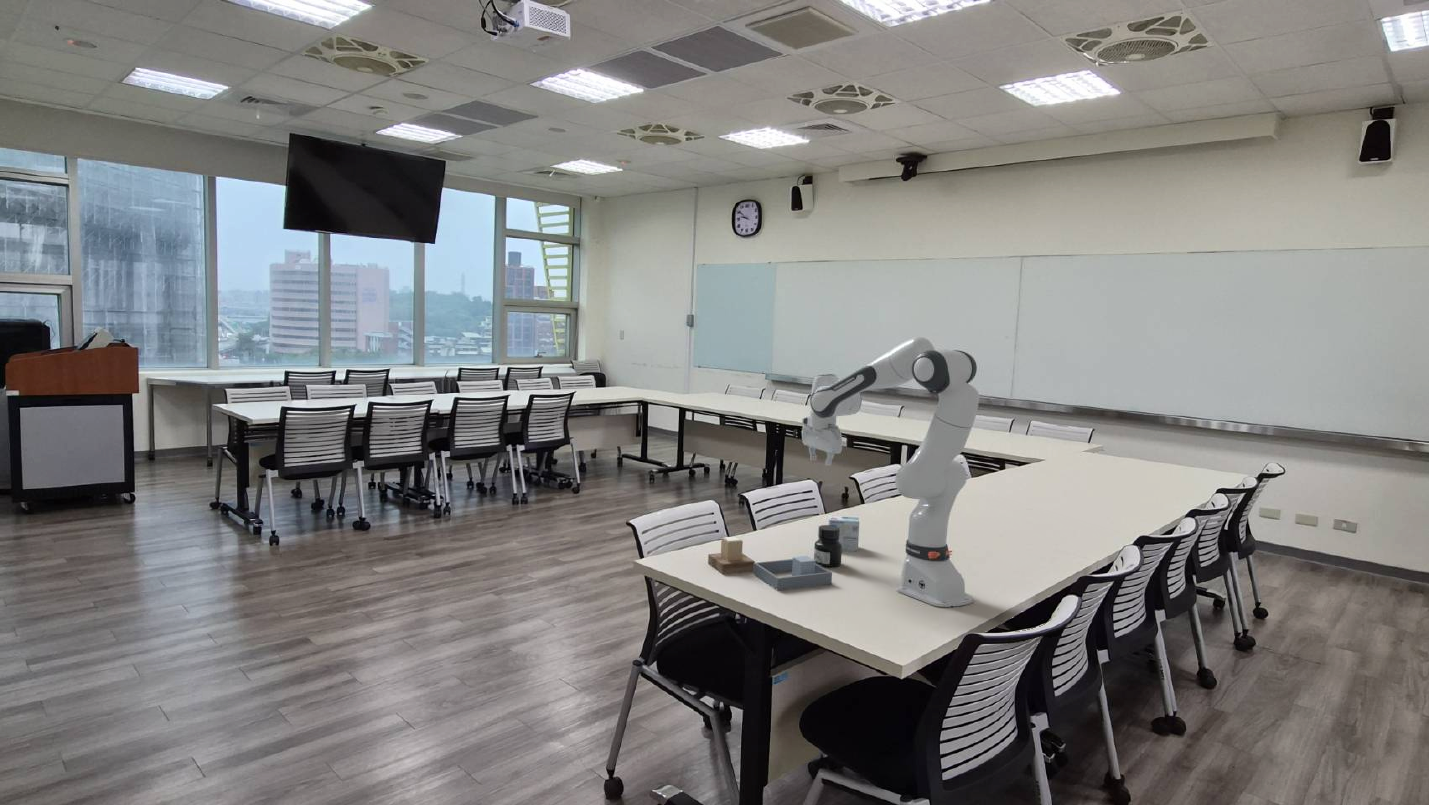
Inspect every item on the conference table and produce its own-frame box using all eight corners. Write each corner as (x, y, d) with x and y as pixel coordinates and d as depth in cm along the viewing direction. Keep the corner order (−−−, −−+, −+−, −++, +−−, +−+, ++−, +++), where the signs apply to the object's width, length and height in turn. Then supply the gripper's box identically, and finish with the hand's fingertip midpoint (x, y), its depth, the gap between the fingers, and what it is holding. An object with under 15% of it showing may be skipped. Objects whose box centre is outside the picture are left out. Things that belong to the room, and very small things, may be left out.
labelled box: (741, 559, 246) (742, 540, 245) (727, 560, 244) (728, 541, 243) (735, 554, 251) (735, 536, 250) (720, 556, 248) (721, 537, 248)
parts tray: (831, 584, 235) (832, 572, 235) (777, 590, 228) (777, 578, 227) (804, 568, 249) (805, 557, 249) (752, 573, 242) (753, 562, 241)
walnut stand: (754, 570, 245) (754, 561, 245) (722, 574, 240) (722, 564, 240) (738, 560, 255) (739, 551, 255) (708, 563, 250) (708, 554, 250)
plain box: (814, 579, 239) (815, 560, 238) (800, 581, 237) (801, 562, 236) (805, 574, 243) (806, 555, 243) (791, 576, 241) (792, 557, 241)
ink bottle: (808, 560, 258) (810, 524, 257) (831, 558, 261) (833, 523, 260) (822, 569, 249) (824, 532, 248) (846, 567, 252) (848, 530, 251)
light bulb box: (856, 546, 277) (858, 516, 276) (858, 551, 270) (860, 521, 269) (826, 544, 278) (828, 514, 277) (827, 549, 271) (829, 519, 270)
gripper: (848, 426, 255) (845, 468, 256) (815, 418, 273) (813, 457, 275) (831, 426, 252) (829, 468, 253) (799, 418, 271) (797, 457, 272)
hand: (820, 462), depth 264 cm, fingers open, 8 cm apart
